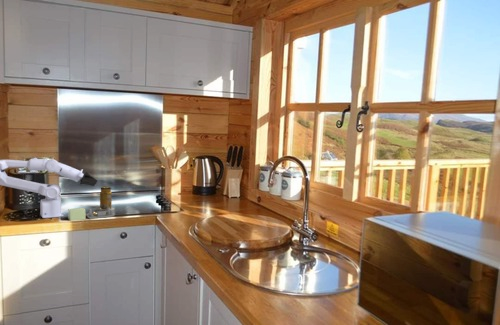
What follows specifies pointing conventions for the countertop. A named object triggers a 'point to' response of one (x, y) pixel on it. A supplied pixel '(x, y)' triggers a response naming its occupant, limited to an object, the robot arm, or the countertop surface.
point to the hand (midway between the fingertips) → (95, 183)
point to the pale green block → (76, 214)
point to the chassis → (99, 213)
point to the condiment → (105, 198)
